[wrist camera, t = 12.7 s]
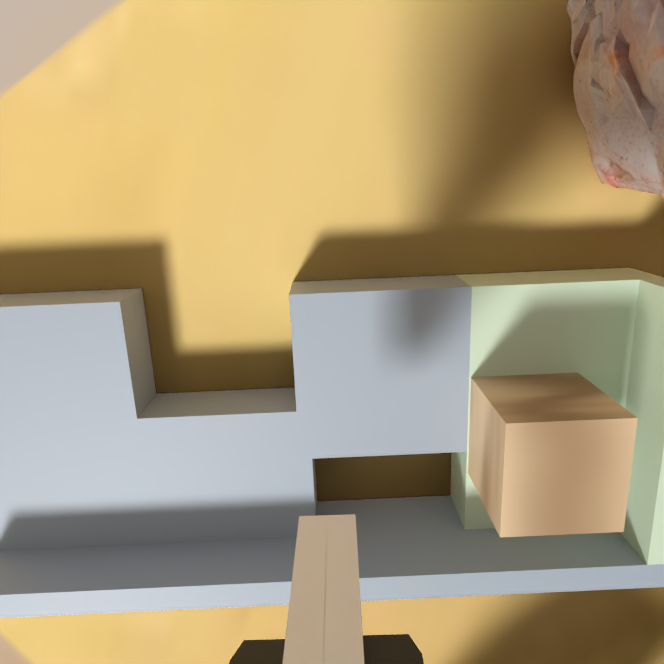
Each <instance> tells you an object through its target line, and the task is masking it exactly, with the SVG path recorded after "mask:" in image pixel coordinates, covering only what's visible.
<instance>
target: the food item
mask: <svg viewBox="0 0 664 664" xmlns="http://www.w3.org/2000/svg"><path fill="white" fill-rule="evenodd" d="M566 9H567V12H568V15H569V17H570V20H571V28H572V40H571V49H570V51H571V54H572V58H573V62H574V66H575V70H574V82H573V93H574V98H575V103H576V109H577V113H578V115H579V118H580V120H581V122H582V124H583V126H584V128H585V131H586V134H587V138H588V144H589V149H590V154H591V159H592V162H593V165H594V167H595V169H596V171H597V174H598V176H599V178H600V180H601V183H607V184H609V185H612V186H614V187H616V188H628V189H633V190H638V191H643V192H649V193H656V194H662V197H663V201H664V0H569V1H568V3H567V7H566Z"/></svg>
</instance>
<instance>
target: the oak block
mask: <svg viewBox="0 0 664 664" xmlns="http://www.w3.org/2000/svg"><path fill="white" fill-rule="evenodd" d="M637 420H638V418H637V417H636V416H635V415H633V414H632V413H631V412H629V411H628V410H627V409H625V408H624V407H623V406H621V405H620V404H619V403H617V402H616V401H615V400H613V399H612V398H611V397H609V396H608V395H607V394H605V393H604V392H603V391H602V390H600V389H599V388H598V387H596V386H595V385H594V384H592V383H591V382H590V381H588V380H587V379H586V378H584V377H583V376H582V375H580V374H579V373H558V374H535V375H511V376H488V377H471V393H470V424H469V455H468V474H469V476H470V478H471V480H472V482H473V484H474V486H475V488H476V490H477V492H478V494H479V496H480V498H481V500H482V502H483V504H484V506H485V508H486V510H487V512H488V514H489V516H490V518H491V520H492V522H493V524H494V526H495V528H496V530H497V532H498V534H499V536H500V537H522V536H544V535H566V534H588V533H611V532H624V525H625V517H626V509H627V501H628V493H629V485H630V476H631V468H632V460H633V452H634V444H635V436H636V428H637Z"/></svg>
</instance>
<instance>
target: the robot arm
mask: <svg viewBox="0 0 664 664" xmlns="http://www.w3.org/2000/svg"><path fill="white" fill-rule="evenodd" d="M229 664H424V663H423V657H422V653H421V652H420V651H419V649H418V648H417V646H416V645H415V643H414V642H413V640H412V639H411V637H410V636H409V634H402V635H365V636H363V632H362V616H361V599H360V582H359V566H358V549H357V532H356V516H355V514H351V515H318V516H299V522H298V531H297V540H296V548H295V557H294V566H293V575H292V584H291V593H290V602H289V610H288V619H287V628H286V637H285V639H276V640H244V641H243V643H242V644H241V646H240V647H239V648H238V650H237V651H236V653H235V654H234V656H233V657H232V659H231V660H230V663H229Z"/></svg>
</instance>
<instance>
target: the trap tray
mask: <svg viewBox="0 0 664 664" xmlns="http://www.w3.org/2000/svg"><path fill="white" fill-rule="evenodd" d="M289 300H290V316H291V332H292V349H293V365H294V381H295V387H293V388H271V389H248V390H225V391H203V392H180V393H157V394H156V387H155V380H154V372H153V365H152V358H151V350H150V343H149V336H148V328H147V321H146V314H145V306H144V299H143V292H142V288H136V289H112V290H89V291H65V292H42V293H19V294H0V618H14V617H35V616H56V615H78V614H99V613H120V612H142V611H163V610H184V609H206V608H227V607H249V606H270V605H289V602H290V593H291V584H292V575H293V566H294V557H295V548H296V540H297V531H298V522H299V516H318V515H351V514H355V516H356V532H357V549H358V566H359V582H360V599H361V601H377V600H398V599H419V598H441V597H462V596H483V595H505V594H526V593H547V592H569V591H590V590H612V589H633V588H654V587H664V277H661V276H658V275H654V274H651V273H647V272H644V271H640V270H637V269H633V268H630V267H628V268H605V269H581V270H558V271H535V272H511V273H488V274H464V275H441V276H417V277H394V278H370V279H347V280H323V281H300V282H293V283H292V286H291V290H290V293H289ZM558 373H579V374H580V375H582V376H583V377H584V378H586V379H587V380H588V381H590V382H591V383H592V384H594V385H595V386H596V387H598V388H599V389H600V390H602V391H603V392H604V393H605V394H607V395H608V396H609V397H611V398H612V399H613V400H615V401H616V402H617V403H619V404H620V405H621V406H623V407H624V408H625V409H627V410H628V411H629V412H631V413H632V414H633V415H635V416H636V417H637V418H638V420H637V428H636V436H635V444H634V452H633V460H632V468H631V476H630V485H629V493H628V501H627V509H626V517H625V525H624V532H611V533H588V534H566V535H544V536H522V537H500V536H499V534H498V532H497V530H496V528H495V526H494V524H493V522H492V520H491V518H490V516H489V514H488V512H487V510H486V508H485V506H484V504H483V502H482V500H481V498H480V496H479V494H478V492H477V490H476V488H475V486H474V484H473V482H472V480H471V478H470V476H469V474H468V455H469V424H470V393H471V377H488V376H511V375H535V374H558ZM429 453H451V495H446V496H424V497H402V498H380V499H358V500H336V501H317V491H316V472H315V459H318V458H340V457H362V456H384V455H407V454H429Z"/></svg>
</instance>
